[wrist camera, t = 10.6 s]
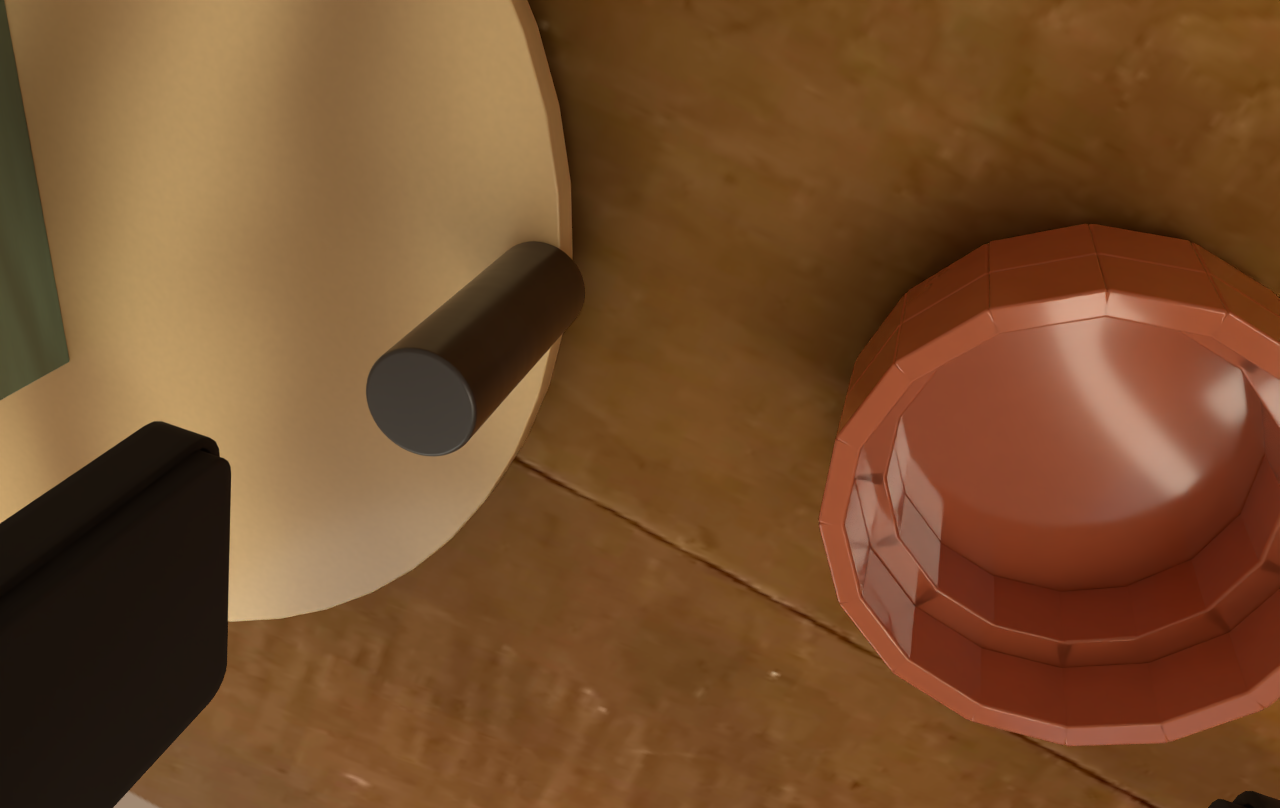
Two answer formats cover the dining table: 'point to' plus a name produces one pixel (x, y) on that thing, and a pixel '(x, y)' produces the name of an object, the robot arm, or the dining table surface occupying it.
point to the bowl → (1069, 488)
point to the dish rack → (284, 263)
